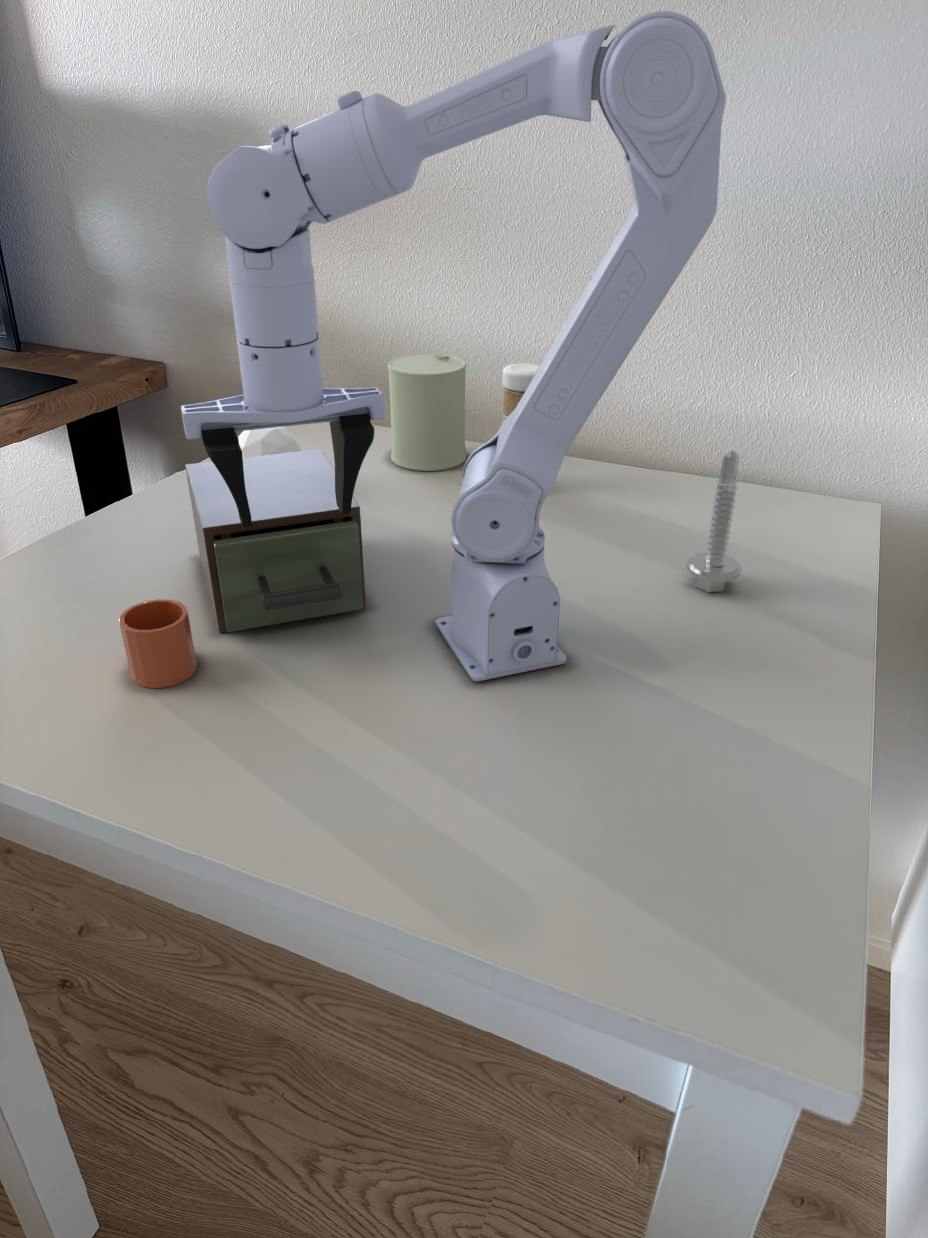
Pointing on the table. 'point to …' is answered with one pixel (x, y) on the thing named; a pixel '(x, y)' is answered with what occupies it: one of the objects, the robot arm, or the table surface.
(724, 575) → the screw
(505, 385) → the sprinkles bottle
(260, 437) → the geometric ball
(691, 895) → the table surface
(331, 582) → the drawer
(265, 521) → the cabinet
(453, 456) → the can
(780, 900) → the table surface
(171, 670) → the cup
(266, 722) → the table surface
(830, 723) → the table surface
